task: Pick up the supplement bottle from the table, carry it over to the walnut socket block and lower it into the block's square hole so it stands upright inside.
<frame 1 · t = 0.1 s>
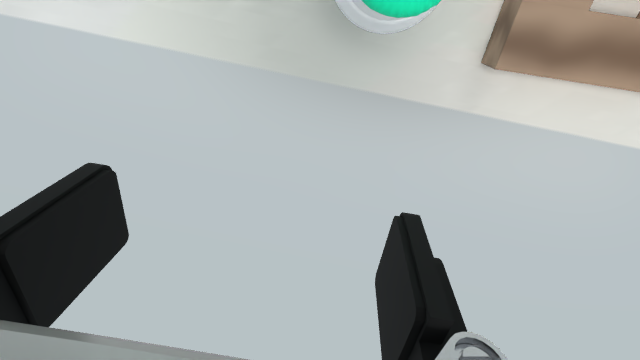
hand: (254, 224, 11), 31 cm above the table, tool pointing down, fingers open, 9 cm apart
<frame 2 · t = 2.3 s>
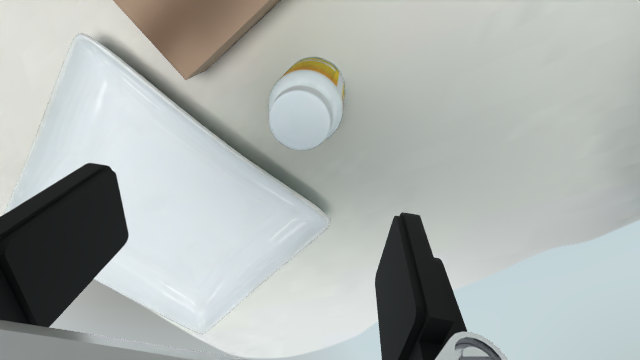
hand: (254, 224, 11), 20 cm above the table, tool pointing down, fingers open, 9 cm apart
supplement bottle: (314, 86, 29), on the table
square plate: (172, 206, 37), on the table
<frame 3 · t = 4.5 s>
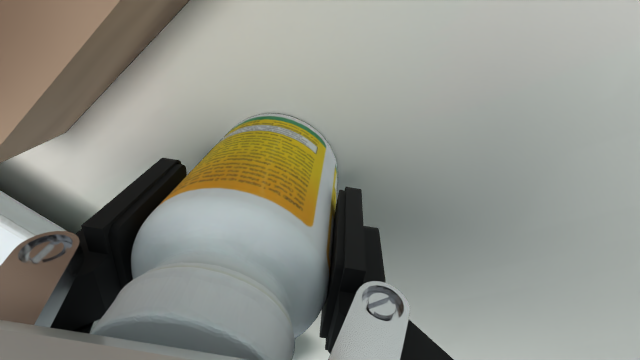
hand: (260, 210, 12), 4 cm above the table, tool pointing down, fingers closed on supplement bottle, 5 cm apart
supplement bottle: (280, 164, 15), on the table, touching gripper
square plate: (63, 326, 23), on the table
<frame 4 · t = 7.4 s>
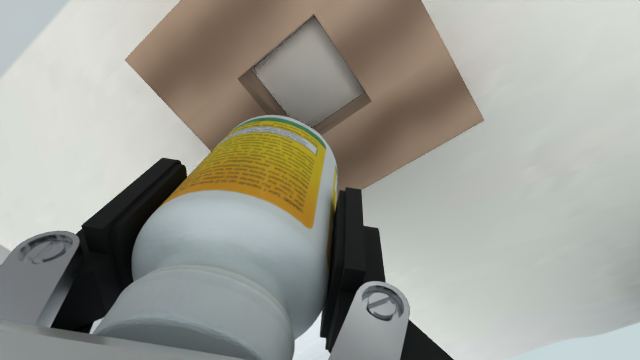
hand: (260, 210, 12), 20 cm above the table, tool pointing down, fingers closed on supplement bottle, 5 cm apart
supplement bottle: (280, 165, 15), point 16 cm above the table, touching gripper
walnut socket block: (310, 79, 28), on the table
square plate: (246, 296, 44), on the table
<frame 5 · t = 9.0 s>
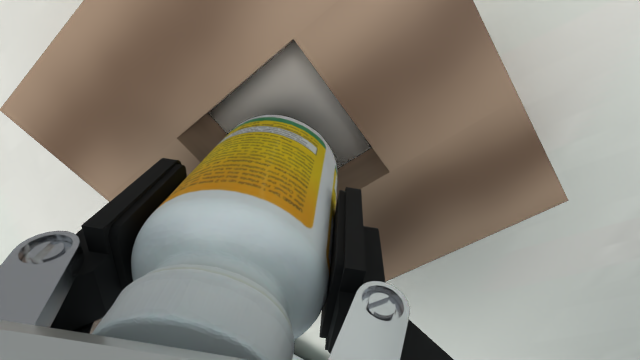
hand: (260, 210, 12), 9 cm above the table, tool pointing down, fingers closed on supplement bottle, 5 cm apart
supplement bottle: (279, 165, 15), point 5 cm above the table, touching gripper
walnut socket block: (295, 127, 19), on the table
when the fingers open (4 cm above the table, at t = 10.3 s): supplement bottle stays where it is, resting in walnut socket block.
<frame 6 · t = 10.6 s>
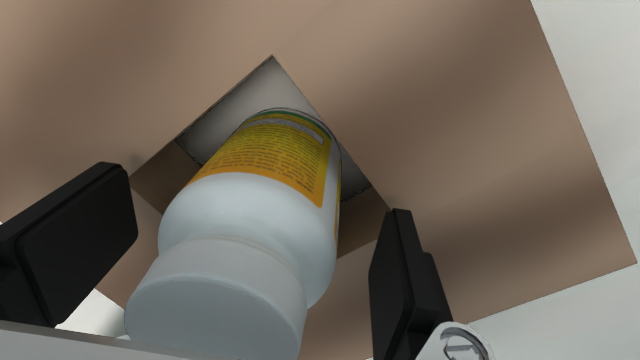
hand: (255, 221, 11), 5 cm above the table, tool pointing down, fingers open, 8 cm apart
supplement bottle: (287, 157, 16), resting in walnut socket block
walnut socket block: (282, 157, 15), on the table
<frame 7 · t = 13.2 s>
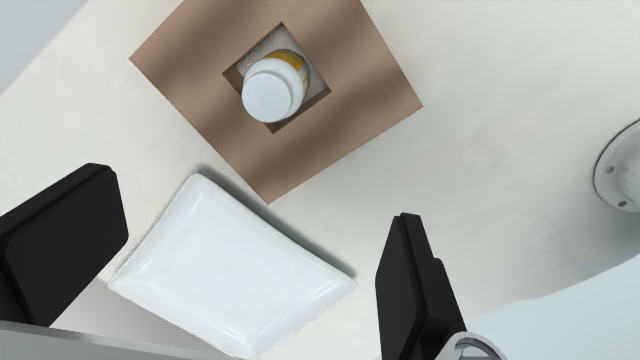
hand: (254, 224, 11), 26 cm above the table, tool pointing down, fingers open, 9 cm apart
supplement bottle: (285, 74, 34), resting in walnut socket block
walnut socket block: (283, 74, 34), on the table
square plate: (235, 269, 49), on the table
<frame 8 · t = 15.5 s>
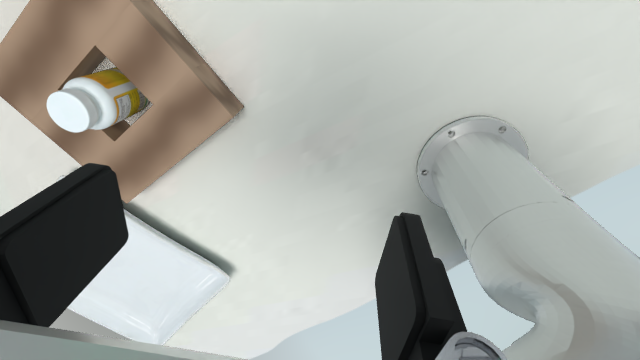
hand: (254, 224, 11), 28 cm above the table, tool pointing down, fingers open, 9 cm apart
supplement bottle: (130, 88, 39), resting in walnut socket block
walnut socket block: (127, 88, 38), on the table
square plate: (130, 263, 54), on the table
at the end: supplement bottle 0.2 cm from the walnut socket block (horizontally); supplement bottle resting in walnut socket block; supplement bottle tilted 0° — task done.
